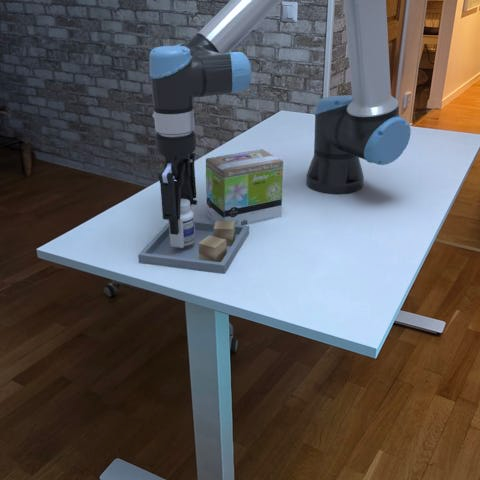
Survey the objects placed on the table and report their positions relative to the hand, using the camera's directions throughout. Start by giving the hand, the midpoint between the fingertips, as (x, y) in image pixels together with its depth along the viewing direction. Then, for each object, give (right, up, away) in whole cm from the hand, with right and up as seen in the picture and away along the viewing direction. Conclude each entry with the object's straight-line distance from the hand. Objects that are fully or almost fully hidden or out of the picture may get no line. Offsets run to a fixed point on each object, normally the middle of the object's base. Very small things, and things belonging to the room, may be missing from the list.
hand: (182, 239), depth 119 cm
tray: (+3, -2, 0) cm, 4 cm away
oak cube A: (+9, 0, +2) cm, 9 cm away
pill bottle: (0, 0, 0) cm, 0 cm away
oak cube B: (+7, -4, -5) cm, 9 cm away
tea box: (+13, +5, +14) cm, 20 cm away
